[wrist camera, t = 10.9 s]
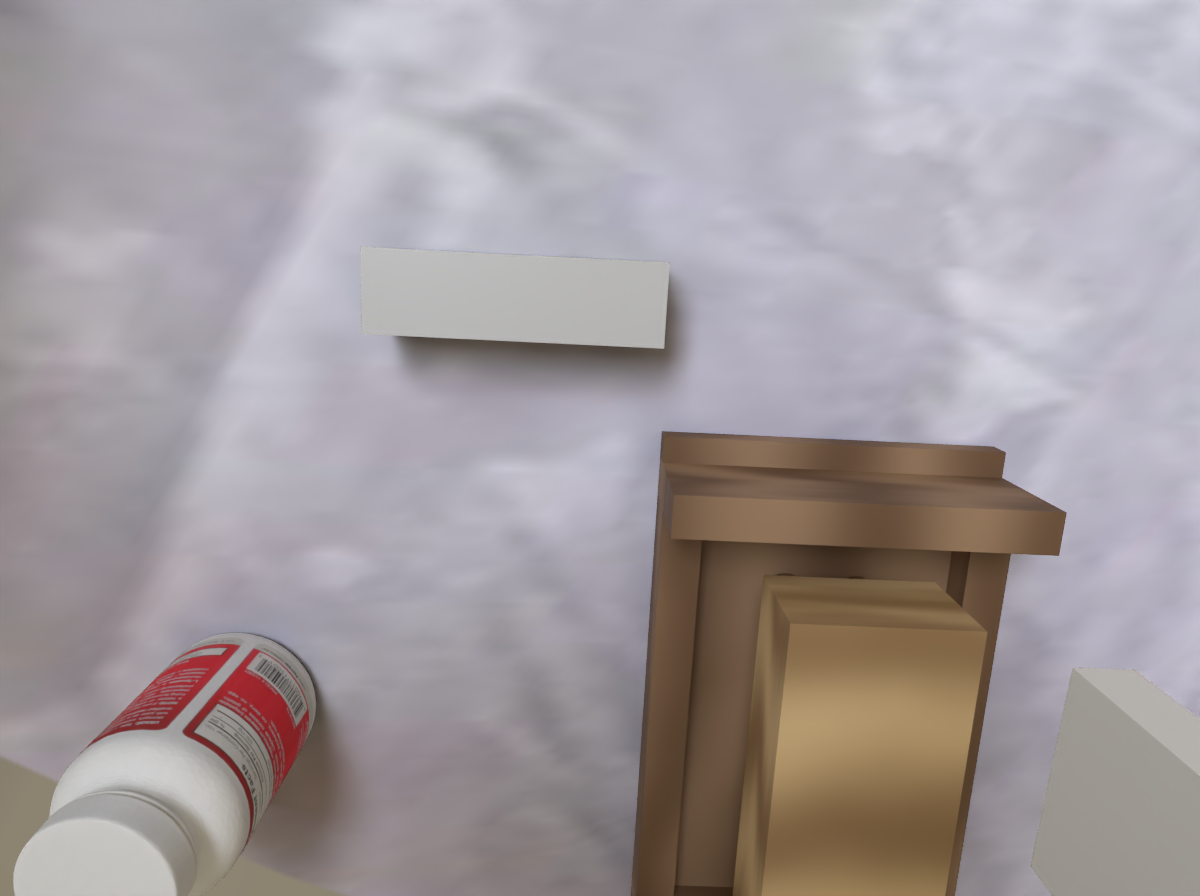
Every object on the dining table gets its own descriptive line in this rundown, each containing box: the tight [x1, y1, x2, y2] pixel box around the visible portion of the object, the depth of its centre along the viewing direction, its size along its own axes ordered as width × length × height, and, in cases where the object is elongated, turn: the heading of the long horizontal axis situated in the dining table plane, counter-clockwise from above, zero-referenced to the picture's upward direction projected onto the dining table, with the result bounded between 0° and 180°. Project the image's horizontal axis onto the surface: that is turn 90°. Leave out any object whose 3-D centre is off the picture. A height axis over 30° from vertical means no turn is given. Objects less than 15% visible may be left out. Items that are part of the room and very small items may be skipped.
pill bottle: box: [13, 633, 316, 896], centre depth 30 cm, size 6×6×11 cm
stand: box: [360, 247, 670, 349], centre depth 30 cm, size 10×3×4 cm, turn 87°
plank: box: [733, 575, 988, 896], centre depth 29 cm, size 14×6×4 cm, turn 177°
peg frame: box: [631, 431, 1066, 896], centre depth 33 cm, size 13×22×6 cm, turn 177°
